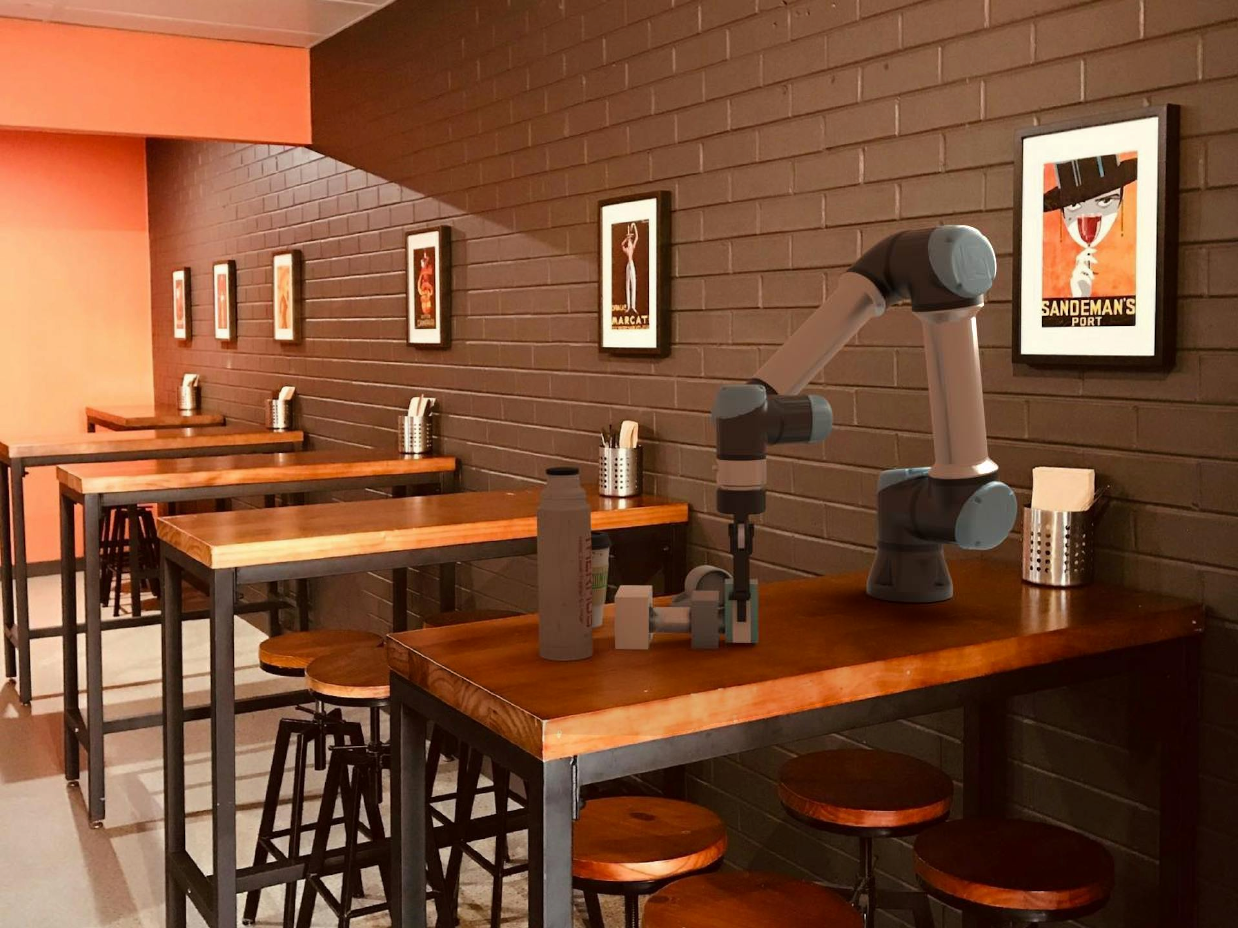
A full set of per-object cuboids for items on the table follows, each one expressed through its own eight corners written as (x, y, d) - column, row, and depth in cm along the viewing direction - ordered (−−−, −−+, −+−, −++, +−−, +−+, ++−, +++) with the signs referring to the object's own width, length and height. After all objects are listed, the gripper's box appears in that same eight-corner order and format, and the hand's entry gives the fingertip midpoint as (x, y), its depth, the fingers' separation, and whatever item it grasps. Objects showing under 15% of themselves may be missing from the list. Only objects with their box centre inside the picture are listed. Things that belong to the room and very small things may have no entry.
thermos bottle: (603, 651, 191) (600, 466, 188) (573, 663, 184) (570, 471, 181) (559, 645, 195) (556, 464, 192) (528, 656, 188) (524, 468, 185)
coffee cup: (569, 633, 203) (567, 540, 201) (543, 621, 211) (542, 532, 210) (623, 626, 207) (622, 535, 206) (596, 615, 216) (595, 527, 214)
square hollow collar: (719, 637, 199) (718, 590, 198) (718, 648, 192) (717, 600, 191) (693, 636, 199) (693, 590, 198) (691, 648, 192) (691, 600, 191)
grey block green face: (758, 636, 196) (757, 579, 196) (758, 642, 193) (758, 584, 192) (632, 635, 198) (631, 578, 198) (630, 641, 194) (629, 583, 194)
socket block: (652, 635, 201) (652, 585, 200) (648, 649, 192) (647, 597, 191) (621, 635, 201) (620, 585, 200) (615, 648, 192) (614, 596, 191)
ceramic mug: (722, 602, 225) (721, 559, 224) (737, 611, 217) (736, 567, 216) (664, 607, 223) (663, 563, 222) (677, 616, 215) (676, 572, 214)
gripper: (717, 480, 201) (718, 625, 204) (714, 493, 184) (715, 651, 187) (765, 480, 200) (765, 625, 203) (766, 493, 184) (767, 652, 186)
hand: (741, 637), depth 195 cm, fingers closed on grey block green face, 4 cm apart
